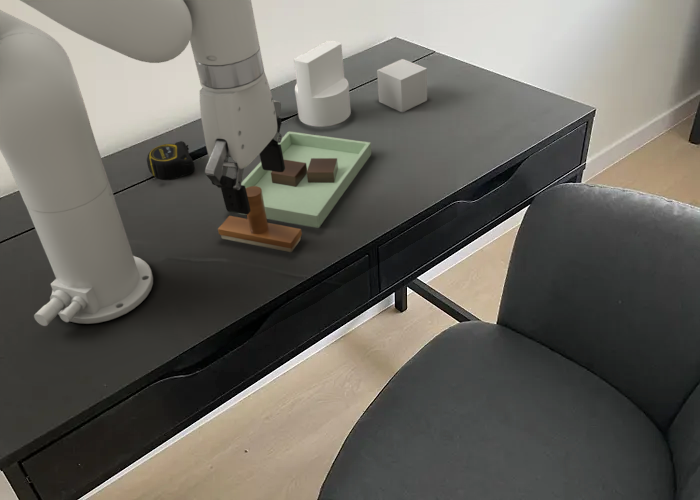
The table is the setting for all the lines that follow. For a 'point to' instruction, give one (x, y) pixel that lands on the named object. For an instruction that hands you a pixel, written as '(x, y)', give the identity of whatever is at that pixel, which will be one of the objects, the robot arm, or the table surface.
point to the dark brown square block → (290, 173)
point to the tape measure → (170, 161)
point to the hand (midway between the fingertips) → (257, 190)
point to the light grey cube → (402, 85)
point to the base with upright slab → (322, 86)
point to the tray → (307, 198)
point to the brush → (259, 227)
